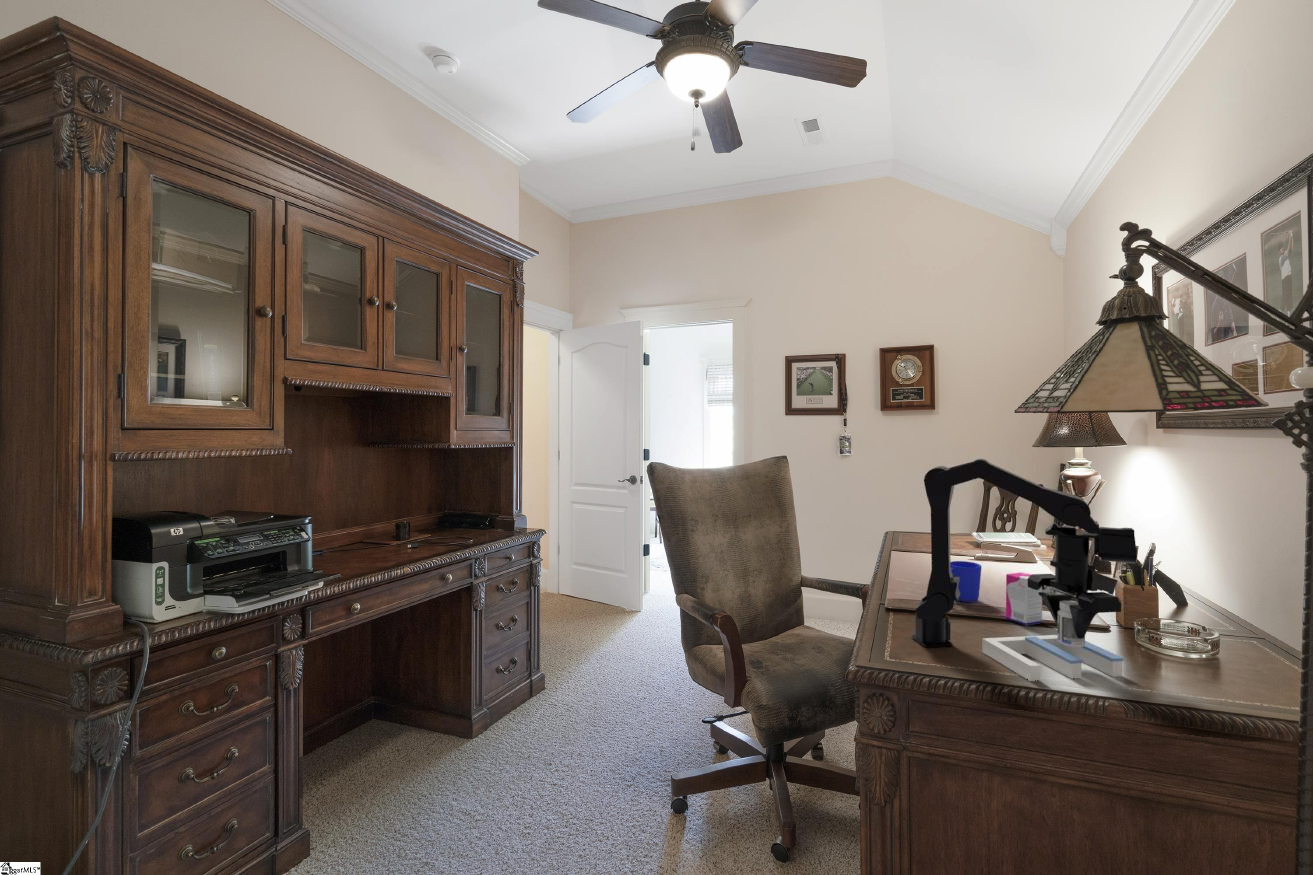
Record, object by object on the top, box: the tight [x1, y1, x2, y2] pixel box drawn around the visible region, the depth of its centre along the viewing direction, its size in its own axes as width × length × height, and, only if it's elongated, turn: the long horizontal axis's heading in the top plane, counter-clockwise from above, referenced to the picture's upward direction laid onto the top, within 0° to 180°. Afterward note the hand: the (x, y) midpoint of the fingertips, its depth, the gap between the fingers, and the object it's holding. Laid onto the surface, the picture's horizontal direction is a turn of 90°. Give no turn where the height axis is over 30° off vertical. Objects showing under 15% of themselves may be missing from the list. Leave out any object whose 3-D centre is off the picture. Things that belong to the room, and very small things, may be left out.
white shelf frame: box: [981, 634, 1124, 682], centre depth 127 cm, size 19×15×4 cm
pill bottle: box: [1056, 600, 1086, 647], centre depth 126 cm, size 5×5×8 cm
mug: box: [951, 560, 982, 603], centre depth 171 cm, size 8×12×10 cm
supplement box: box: [1005, 572, 1043, 627], centre depth 153 cm, size 6×6×12 cm
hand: (1071, 633), depth 126 cm, fingers closed on pill bottle, 5 cm apart
